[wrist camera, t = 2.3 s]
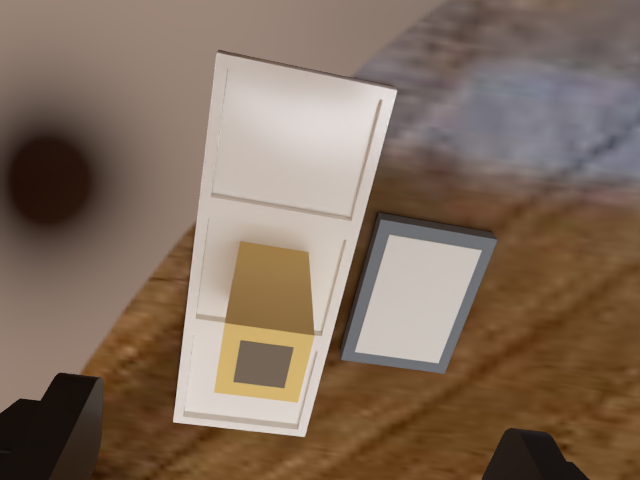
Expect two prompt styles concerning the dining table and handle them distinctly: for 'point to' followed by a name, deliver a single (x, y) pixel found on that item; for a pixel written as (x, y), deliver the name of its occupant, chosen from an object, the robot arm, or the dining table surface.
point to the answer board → (415, 293)
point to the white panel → (232, 410)
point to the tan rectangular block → (267, 324)
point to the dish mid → (232, 227)
